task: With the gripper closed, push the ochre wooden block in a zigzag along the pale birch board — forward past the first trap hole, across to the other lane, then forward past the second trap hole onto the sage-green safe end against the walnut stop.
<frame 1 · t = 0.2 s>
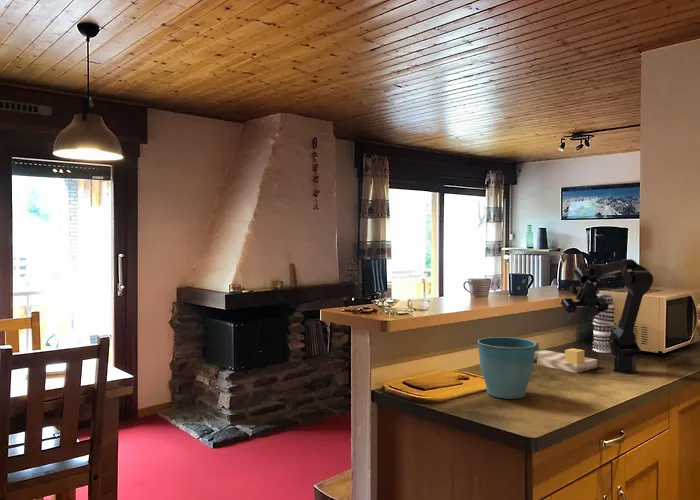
hand: (578, 319, 239), 15 cm above the worktop, tool tilted 30°, fingers open, 9 cm apart
decorative candle: (603, 351, 246), on the worktop
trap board: (587, 370, 212), on the worktop
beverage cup: (624, 356, 236), on the worktop
flower pot: (506, 395, 180), on the worktop
ochre block: (574, 362, 212), point 3 cm above the worktop, touching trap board
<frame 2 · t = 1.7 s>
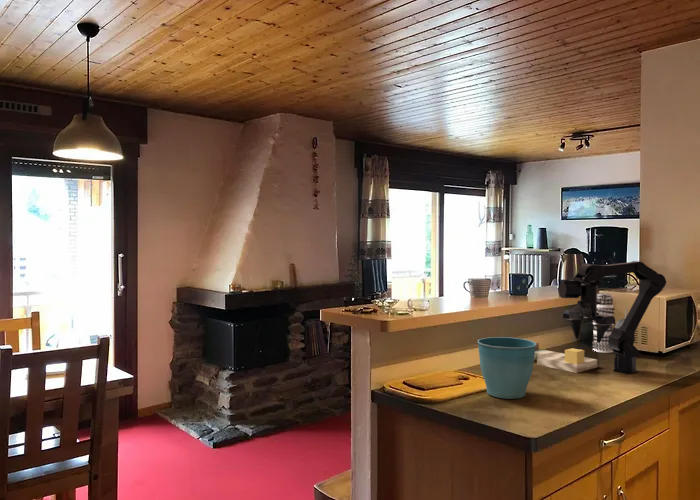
hand: (587, 340, 207), 12 cm above the worktop, tool pointing down, fingers open, 9 cm apart
nothing on the worktop moved.
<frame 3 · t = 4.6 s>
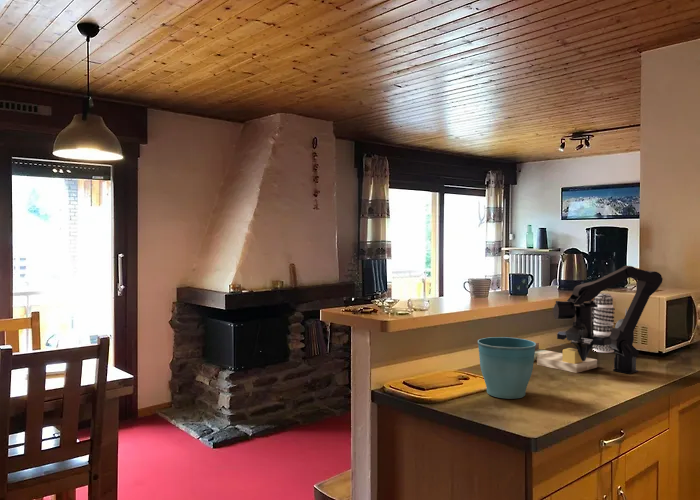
hand: (583, 360, 209), 4 cm above the worktop, tool pointing down, fingers closed
ochre block: (572, 361, 213), point 3 cm above the worktop, touching gripper
everything else where it was.
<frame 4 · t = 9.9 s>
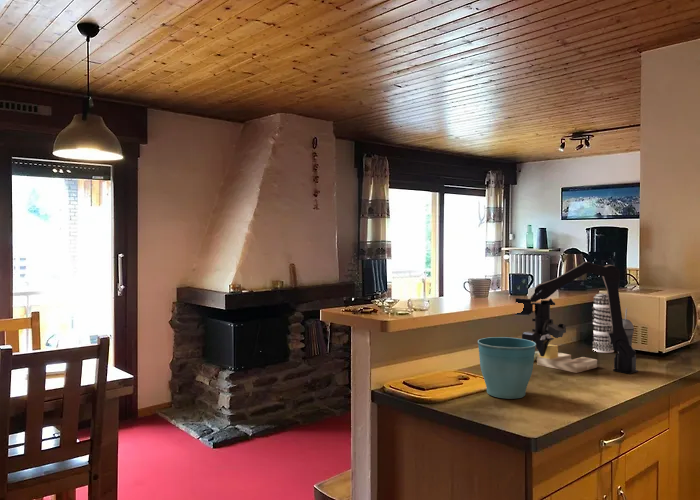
hand: (542, 356, 218), 4 cm above the worktop, tool pointing down, fingers closed
ochre block: (548, 356, 221), point 3 cm above the worktop, touching gripper
everything else where it was.
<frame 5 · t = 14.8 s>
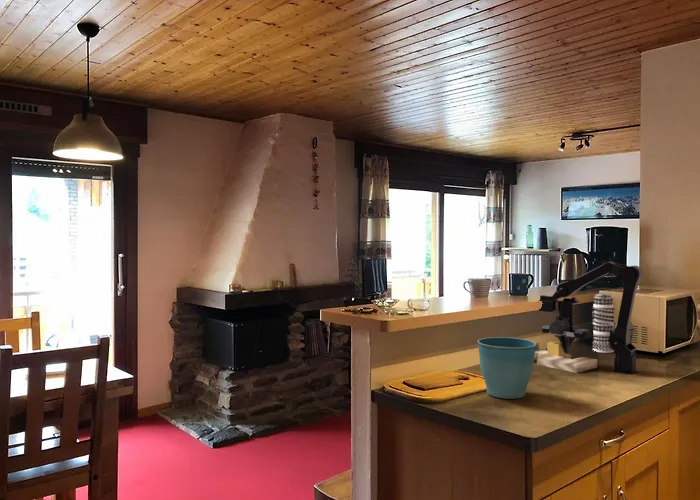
hand: (566, 353, 223), 4 cm above the worktop, tool pointing down, fingers closed
ochre block: (556, 354, 226), point 3 cm above the worktop, touching gripper
everything else where it was.
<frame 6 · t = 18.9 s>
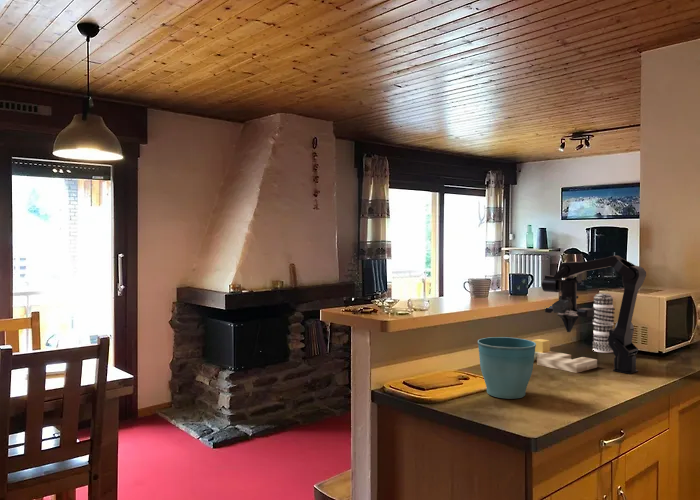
hand: (568, 332, 225), 12 cm above the worktop, tool pointing down, fingers closed
ochre block: (541, 351, 232), point 3 cm above the worktop, touching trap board
everything else where it was.
at the end: ochre block inside the target area on the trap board (0.5 cm from its centre), point 3.0 cm above the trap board's base; ochre block tilted 0° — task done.
